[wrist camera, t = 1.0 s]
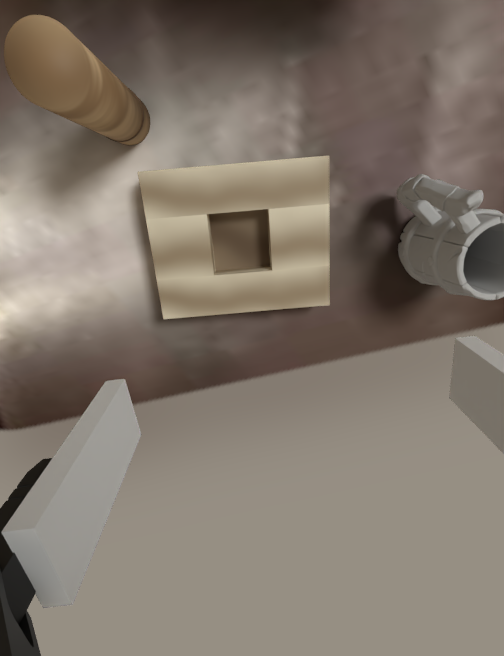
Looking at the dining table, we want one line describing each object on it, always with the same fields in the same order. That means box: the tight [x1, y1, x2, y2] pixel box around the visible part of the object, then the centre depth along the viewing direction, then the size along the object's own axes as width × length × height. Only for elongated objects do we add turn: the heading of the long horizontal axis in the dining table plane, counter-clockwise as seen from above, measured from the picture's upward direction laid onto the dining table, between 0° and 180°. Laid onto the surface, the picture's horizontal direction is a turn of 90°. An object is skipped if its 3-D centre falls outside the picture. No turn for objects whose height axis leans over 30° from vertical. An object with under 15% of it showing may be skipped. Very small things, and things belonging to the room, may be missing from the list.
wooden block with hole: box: [138, 156, 330, 319], centre depth 33 cm, size 13×16×4 cm
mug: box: [397, 174, 504, 300], centre depth 30 cm, size 8×12×12 cm, turn 44°
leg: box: [4, 15, 150, 145], centre depth 25 cm, size 4×4×14 cm
